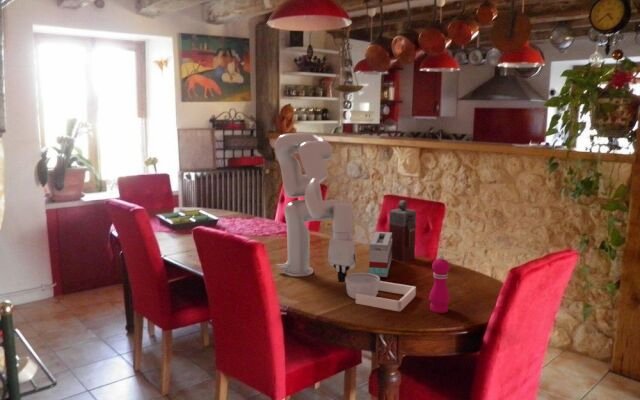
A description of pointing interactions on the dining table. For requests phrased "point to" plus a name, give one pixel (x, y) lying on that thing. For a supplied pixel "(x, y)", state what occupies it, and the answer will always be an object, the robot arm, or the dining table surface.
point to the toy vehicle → (380, 254)
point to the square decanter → (403, 232)
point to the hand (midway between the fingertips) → (342, 281)
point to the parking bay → (389, 304)
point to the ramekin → (362, 284)
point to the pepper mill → (440, 286)
